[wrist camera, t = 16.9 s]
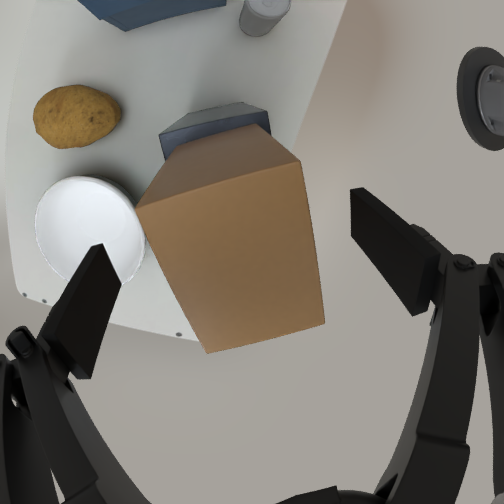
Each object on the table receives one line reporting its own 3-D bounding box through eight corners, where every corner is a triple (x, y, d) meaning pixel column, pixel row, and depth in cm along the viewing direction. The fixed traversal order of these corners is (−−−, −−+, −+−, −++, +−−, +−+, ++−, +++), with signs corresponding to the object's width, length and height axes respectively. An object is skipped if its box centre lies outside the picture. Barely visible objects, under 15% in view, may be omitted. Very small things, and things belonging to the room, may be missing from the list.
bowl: (162, 261, 50) (155, 290, 43) (71, 265, 48) (54, 291, 41) (148, 154, 40) (134, 168, 33) (46, 170, 38) (21, 186, 31)
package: (256, 123, 20) (301, 160, 9) (279, 219, 24) (325, 324, 14) (176, 146, 20) (133, 209, 10) (208, 238, 24) (206, 354, 14)
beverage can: (277, 15, 31) (298, -9, 21) (265, 41, 34) (283, 24, 23) (245, 4, 30) (255, -24, 20) (233, 31, 32) (239, 9, 22)
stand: (242, 101, 38) (267, 110, 19) (254, 165, 43) (285, 231, 25) (187, 113, 38) (158, 134, 19) (202, 176, 43) (191, 251, 25)
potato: (95, 167, 31) (106, 93, 26) (18, 152, 29) (23, 86, 24) (122, 146, 39) (134, 86, 34) (52, 133, 36) (60, 78, 31)
